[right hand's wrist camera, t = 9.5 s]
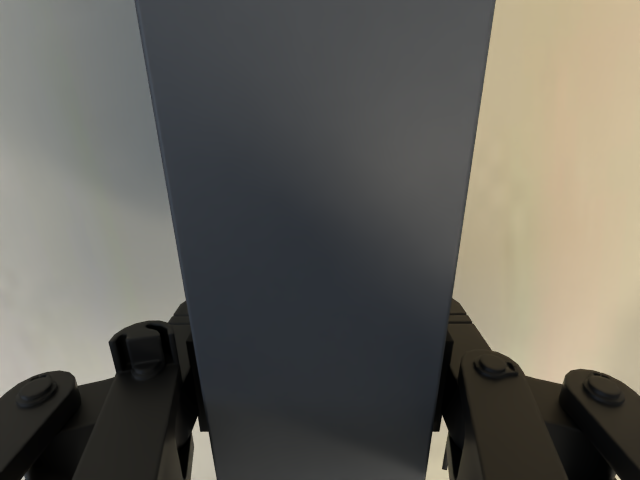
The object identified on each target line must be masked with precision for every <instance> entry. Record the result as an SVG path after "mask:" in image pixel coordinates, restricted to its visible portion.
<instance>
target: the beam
mask: <svg viewBox="0 0 640 480" xmlns="http://www.w3.org/2000/svg"><path fill="white" fill-rule="evenodd" d="M495 1H496V0H135V5H136V11H137V17H138V23H139V29H140V35H141V40H142V46H143V52H144V58H145V64H146V70H147V75H148V81H149V87H150V93H151V99H152V105H153V110H154V116H155V122H156V128H157V134H158V139H159V145H160V151H161V157H162V163H163V169H164V174H165V180H166V186H167V192H168V198H169V204H170V209H171V215H172V221H173V227H174V233H175V239H176V244H177V250H178V256H179V262H180V268H181V274H182V279H183V285H184V291H185V297H186V303H187V308H188V314H189V320H190V326H191V332H192V338H193V343H194V349H195V355H196V361H197V367H198V373H199V378H200V384H201V390H202V396H203V402H204V408H205V413H206V419H207V425H208V431H209V437H210V442H211V448H212V454H213V460H214V466H215V472H216V477H217V480H425V478H426V471H427V465H428V458H429V451H430V444H431V437H432V430H433V424H434V417H435V410H436V403H437V396H438V390H439V383H440V376H441V369H442V362H443V355H444V349H445V342H446V335H447V328H448V321H449V315H450V308H451V301H452V294H453V287H454V280H455V274H456V267H457V260H458V253H459V246H460V240H461V233H462V226H463V219H464V212H465V205H466V199H467V192H468V185H469V178H470V171H471V165H472V158H473V151H474V144H475V137H476V130H477V124H478V117H479V110H480V103H481V96H482V90H483V83H484V76H485V69H486V62H487V55H488V49H489V42H490V35H491V28H492V21H493V15H494V8H495Z"/></svg>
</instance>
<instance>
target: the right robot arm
mask: <svg viewBox="0 0 640 480" xmlns="http://www.w3.org/2000/svg"><path fill="white" fill-rule="evenodd" d="M109 346H110V350H111V354H112V357H113V361H114V365H115V369H116V375H115V377H113V378H110V379H107V380H102V381H98V382H93V383H89V384H84V385H80V386H77V383H76V379H75V377H74V376H73V375H72V374H71V373H70V372H65V371H52V372H46V373H42V374H38V375H36V376H33V377H31V378H29V379H27V380H25V381H23V382H21V383H19V384H17V385H16V386H15V387H13V388H12V389H10V390H9V391H8V392H6V393H5V394H4V395H3V396H2V397H1V398H0V480H21V479H22V477H23V476H25V480H191V471H192V461H193V452H194V443H193V437H192V429H193V427H194V424H195V422H196V419H197V416H198V420H199V426H200V432H209V431H208V425H207V419H206V413H205V408H204V402H203V396H202V390H201V384H200V378H199V373H198V367H197V361H196V355H195V349H194V343H193V338H192V332H191V326H190V320H189V314H188V308H187V303H186V301H185V302H183V303H182V304H180V306H179V307H178V309H177V310H176V312H175V313H174V316H173V317H172V318H171V319H170V321H169V322H168V323H167V322H163V321H145V322H140V323H136V324H133V325H131V326H128V327H126V328H124V329H122V330H121V331H119V332H118V333H116V334H115V335H114V336H113V337H112V338H111V340H110V341H109ZM442 415H443V418H444V421H445V423H446V426H447V428H448V437H447V442H446V448H445V454H444V459H443V466H442V469H444V470H447V467H448V470H449V479H450V480H617V479H616V478H615V475H616V474H617V475H618V476H619V478H620V479H621V480H640V396H639V395H638V394H637V393H636V392H635V391H633V390H632V389H631V388H629V387H628V386H627V385H625V384H624V383H623V382H621V381H619V380H617V379H615V378H613V377H611V376H609V375H606V374H604V373H600V372H597V371H593V370H585V369H577V370H572V371H570V372H569V373H568V374H566V375H565V378H564V382H563V384H558V383H554V382H549V381H544V380H540V379H535V378H532V377H528V376H525V374H524V372H523V371H522V369H521V368H520V367H519V365H518V364H517V363H515V362H514V361H513V360H512V359H510V358H509V357H507V356H505V355H503V354H500V353H498V352H495V351H492V350H491V349H490V347H489V346H488V344H487V343H486V341H485V340H484V338H483V337H482V336H481V334H480V333H479V331H478V330H477V328H476V327H475V325H474V324H472V321H471V319H470V318H469V316H468V315H466V312H465V311H464V309H463V308H462V306H461V305H460V303H458V302H457V301H455V300H454V299H453V298H452V301H451V308H450V315H449V321H448V328H447V335H446V342H445V349H444V355H443V362H442V369H441V376H440V383H439V390H438V396H437V403H436V410H435V417H434V424H433V430H432V432H439V430H440V424H441V418H442Z"/></svg>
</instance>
